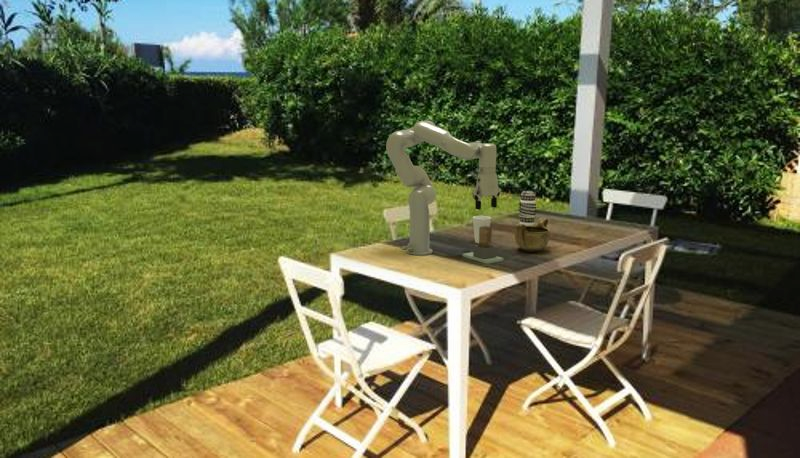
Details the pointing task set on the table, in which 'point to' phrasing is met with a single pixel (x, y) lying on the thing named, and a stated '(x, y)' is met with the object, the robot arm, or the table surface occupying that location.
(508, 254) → the table surface
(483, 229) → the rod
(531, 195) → the decorative candle
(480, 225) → the foam cup
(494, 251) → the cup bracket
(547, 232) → the brown round bowl
